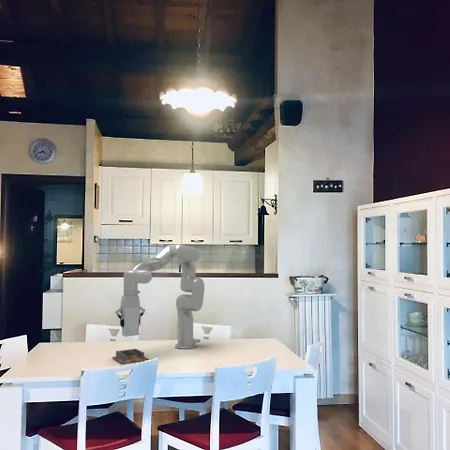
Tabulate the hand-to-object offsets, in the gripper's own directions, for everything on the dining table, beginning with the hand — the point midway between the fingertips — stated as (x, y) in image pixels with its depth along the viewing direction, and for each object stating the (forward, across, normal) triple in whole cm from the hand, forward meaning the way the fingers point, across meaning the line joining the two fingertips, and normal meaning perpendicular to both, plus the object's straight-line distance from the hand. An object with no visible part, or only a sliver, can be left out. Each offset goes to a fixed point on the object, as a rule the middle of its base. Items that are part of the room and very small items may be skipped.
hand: (130, 325), depth 246 cm
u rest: (+18, 0, 0) cm, 18 cm away
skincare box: (+5, 0, 0) cm, 5 cm away
